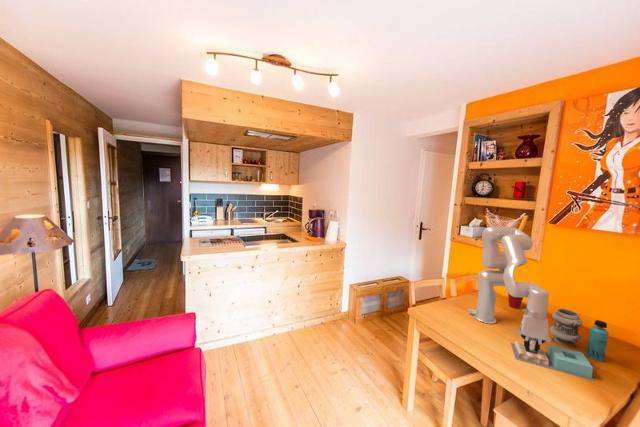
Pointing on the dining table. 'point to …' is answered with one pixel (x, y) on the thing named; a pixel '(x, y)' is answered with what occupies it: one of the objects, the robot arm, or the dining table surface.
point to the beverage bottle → (597, 341)
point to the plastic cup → (515, 301)
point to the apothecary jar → (566, 327)
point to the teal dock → (570, 361)
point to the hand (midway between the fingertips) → (531, 348)
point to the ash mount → (531, 354)
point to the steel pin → (532, 345)
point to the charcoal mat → (550, 365)
